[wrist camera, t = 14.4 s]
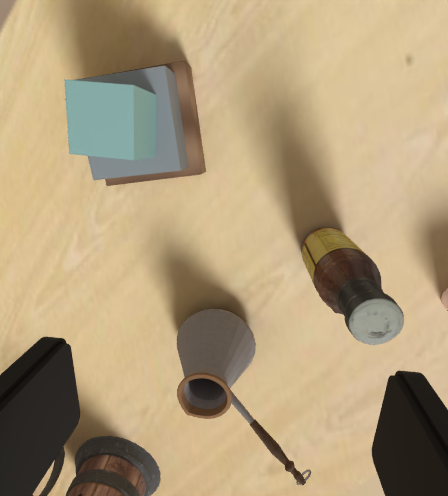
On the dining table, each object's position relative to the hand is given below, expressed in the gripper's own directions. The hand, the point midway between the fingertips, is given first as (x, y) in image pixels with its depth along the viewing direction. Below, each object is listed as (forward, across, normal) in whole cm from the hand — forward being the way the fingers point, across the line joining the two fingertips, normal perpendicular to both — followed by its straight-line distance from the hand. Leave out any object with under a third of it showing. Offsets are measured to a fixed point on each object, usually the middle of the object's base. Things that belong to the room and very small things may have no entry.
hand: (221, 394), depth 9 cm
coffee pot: (+34, 0, +24) cm, 42 cm away
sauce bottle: (+34, -10, +6) cm, 36 cm away
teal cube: (+27, +13, -8) cm, 31 cm away
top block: (+31, +13, -8) cm, 34 cm away
